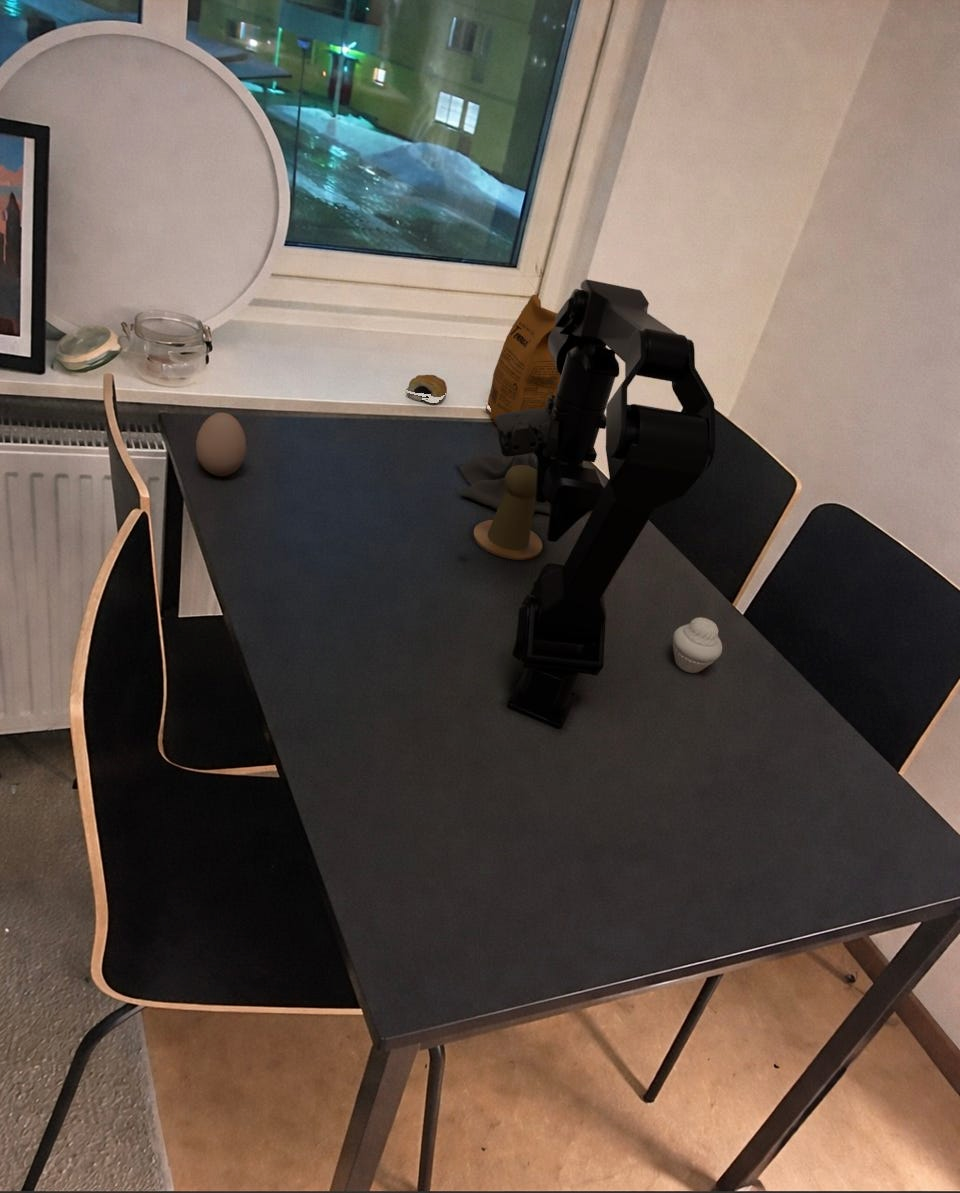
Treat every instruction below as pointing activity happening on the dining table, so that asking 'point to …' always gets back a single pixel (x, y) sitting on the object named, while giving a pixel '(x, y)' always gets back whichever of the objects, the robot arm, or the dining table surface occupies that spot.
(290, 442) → the dining table surface
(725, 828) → the dining table surface
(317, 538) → the dining table surface
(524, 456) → the cloth
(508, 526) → the pepper shaker
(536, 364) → the coffee package
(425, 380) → the pastry
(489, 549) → the cork coaster
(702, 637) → the muffin
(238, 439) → the egg
